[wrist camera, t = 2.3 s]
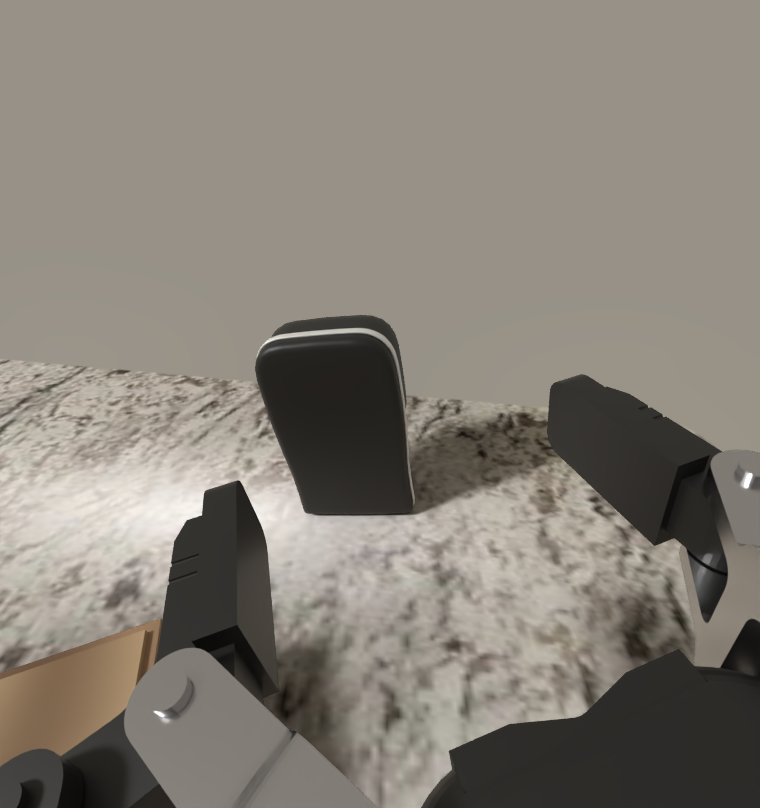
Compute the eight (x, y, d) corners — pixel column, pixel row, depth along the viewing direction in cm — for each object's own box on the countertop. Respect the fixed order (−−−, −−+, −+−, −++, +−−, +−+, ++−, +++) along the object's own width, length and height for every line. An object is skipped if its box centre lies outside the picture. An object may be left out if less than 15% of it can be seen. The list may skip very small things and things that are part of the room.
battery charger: (419, 471, 27) (399, 300, 21) (417, 517, 24) (392, 334, 18) (315, 473, 29) (266, 313, 22) (300, 518, 26) (239, 346, 19)
